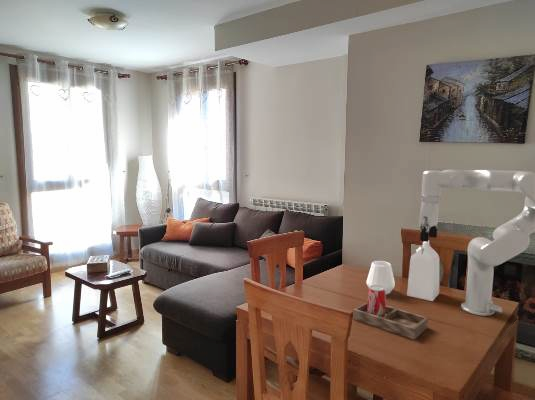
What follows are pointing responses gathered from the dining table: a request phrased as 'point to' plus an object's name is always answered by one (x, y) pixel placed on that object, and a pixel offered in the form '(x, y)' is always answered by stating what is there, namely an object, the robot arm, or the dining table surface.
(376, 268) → the white faceted vase
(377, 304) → the soda can
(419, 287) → the milk
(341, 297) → the dining table surface
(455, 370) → the dining table surface
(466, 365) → the dining table surface
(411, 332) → the caddy
